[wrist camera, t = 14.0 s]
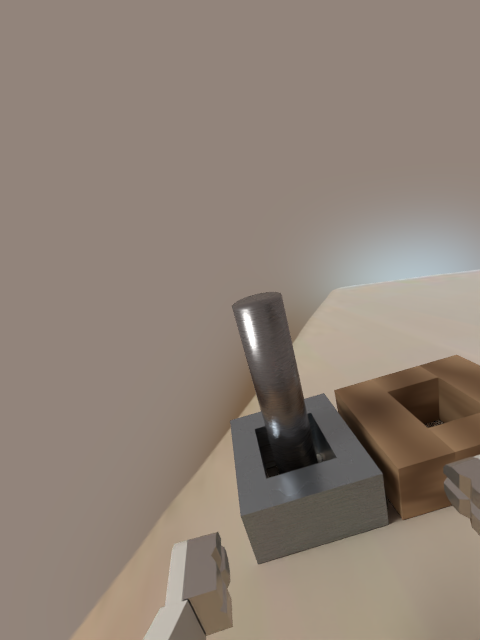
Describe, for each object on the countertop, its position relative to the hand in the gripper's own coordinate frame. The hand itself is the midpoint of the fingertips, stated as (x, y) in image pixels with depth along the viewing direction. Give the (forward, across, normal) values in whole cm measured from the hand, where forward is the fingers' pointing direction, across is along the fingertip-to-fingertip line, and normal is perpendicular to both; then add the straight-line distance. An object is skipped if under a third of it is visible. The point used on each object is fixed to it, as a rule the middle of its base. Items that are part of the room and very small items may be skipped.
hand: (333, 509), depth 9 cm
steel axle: (+10, 0, +11) cm, 15 cm away
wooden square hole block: (+10, -12, +11) cm, 19 cm away
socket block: (+10, 0, +11) cm, 15 cm away
